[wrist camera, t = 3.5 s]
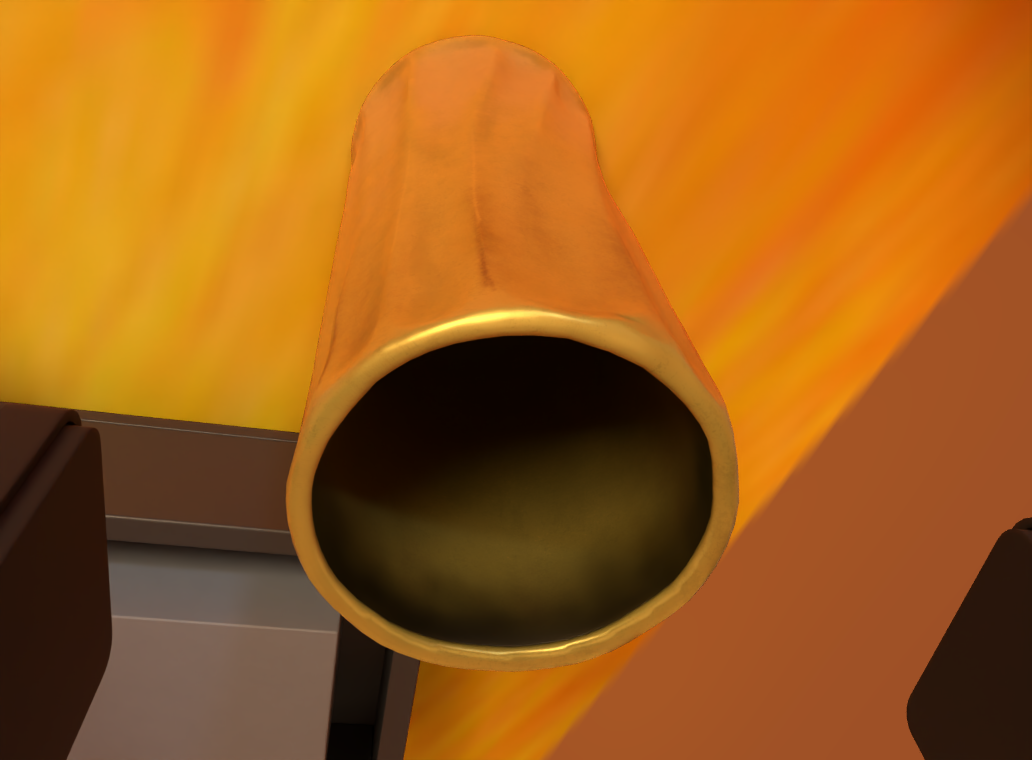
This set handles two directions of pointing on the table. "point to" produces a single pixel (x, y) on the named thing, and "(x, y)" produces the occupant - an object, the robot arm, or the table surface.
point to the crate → (244, 544)
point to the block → (213, 659)
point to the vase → (501, 385)
